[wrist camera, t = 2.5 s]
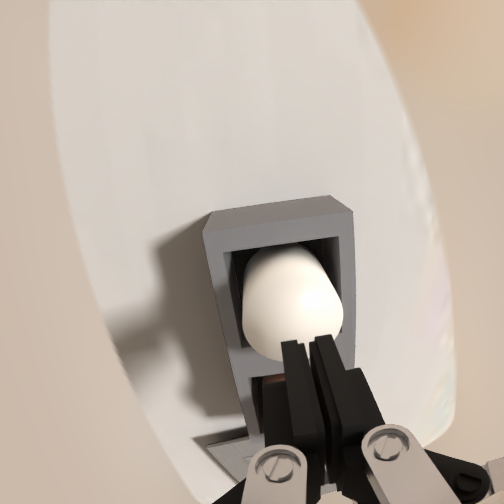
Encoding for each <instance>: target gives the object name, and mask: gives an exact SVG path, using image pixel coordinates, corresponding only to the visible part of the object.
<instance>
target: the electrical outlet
mask: <svg viewBox="0 0 504 504" xmlns="http://www.w3.org/2000/svg"><path fill="white" fill-rule="evenodd" d="M264 448H265V442H263V443H253V444H251V441H250V437H249V435H248V436H243V437H239V438H235V439H231V440H226V441H221V442H217V443H212V444H209V445H206V449H207V450H208V451H209V452H210V453H211V454H212V455H213V456H214V457H215V458H216V459H217V460H218V461H219V463H220V464H221V465H222V466H223V467H224V468H225V469H226V470H227V471H228V472H229V473H230V474H231V475H232V476H233V477H234V478H235V479H236V480H237V481H238V482H239V483H240V482H241V481H242V480H243V479H245V478H246V477H247V472H248V467H249V464H250V461H251V459H252V458H253V457H254V455H255V454H256V453H257V452H259V451H260V450H262V449H264ZM336 490H337V488H336V483H335V484H329V481H328V476H327V471H326V466H325V480H324V486H321V495H322V494H326V493H330V492H333V491H336Z"/></svg>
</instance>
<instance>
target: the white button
mask: <svg viewBox="0 0 504 504" xmlns="http://www.w3.org/2000/svg"><path fill="white" fill-rule="evenodd" d="M342 322H343V307H342V303H341V301H340V299H339V297H338V295H337V293H336V291H335V289H334V287H333V286H332V284H331V282H330V280H329V278H328V277H327V275H326V273H325V271H324V269H323V268H322V266H321V264H320V262H319V260H318V259H317V257H316V256H315V255H314V254H313V253H312V252H311V251H310V250H309V249H307V248H306V247H304V246H302V245H300V244H297V243H286V244H279V245H272V246H266V247H263V248H262V249H260V250H259V251H258V252H257V253H255V254H254V255H253V256H252V258H251V259H250V260H249V262H248V264H247V266H246V268H245V271H244V277H243V315H242V325H243V331H244V335H245V337H246V339H247V341H248V342H249V344H250V345H251V346H252V348H253V349H255V350H256V351H257V352H258V353H260V354H261V355H263V356H265V357H267V358H269V359H272V360H276V361H282V362H283V358H282V350H281V342H283V341H290V340H296V339H297V342H298V344H299V343H304V345H305V348H306V352H307V356H308V358H310V355H309V342H312V341H314V337H316V336H322V335H327V334H331V335H332V337H333V339H334V340H335V338H336V337H337V335H338V333H339V331H340V329H341V326H342Z"/></svg>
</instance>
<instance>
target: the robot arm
mask: <svg viewBox="0 0 504 504" xmlns="http://www.w3.org/2000/svg"><path fill="white" fill-rule="evenodd" d="M281 350H282V358H283V366H284V374H285V380H284V381H277V382H269V383H262V397H263V418H264V441H265V448H264V449H262V450H260V451H259V452H257V453H256V454H255V455H254V457H253V458H252V459H251V461H250V464H249V467H248V472H247V477H246V478H245V479H243V480H242V481H241V482H240V483H238V484H237V485H236V486H235V487H233V488H232V489H231V490H230V491H228V492H227V493H226V494H224V495H223V496H222V497H220V498H219V499H218V500H216V501H215V502H214V503H212V504H316V503H317V502H318V501H319V500H320V498H321V486H324V480H325V466H326V471H327V476H328V481H329V484H335V483H336V488H337V491H342V495H344V496H346V497H347V498H350V499H352V502H353V504H504V457H503V458H499V459H496V460H492V461H488V462H487V463H486V465H483V466H479V465H477V464H474V463H470V462H466V461H463V460H459V459H455V458H452V457H449V456H445V455H442V454H439V453H435V452H432V451H429V450H426V449H423V448H422V447H421V445H420V444H419V442H418V441H417V440H416V438H415V437H414V435H413V434H412V433H411V432H410V431H409V430H408V429H406V428H404V427H402V426H399V425H395V424H385V422H384V420H383V418H382V415H381V413H380V411H379V408H378V406H377V404H376V401H375V399H374V397H373V394H372V392H371V390H370V387H369V385H368V383H367V381H366V378H365V376H364V374H363V372H362V370H361V368H354V369H349V370H345V367H344V365H343V362H342V360H341V357H340V354H339V352H338V349H337V347H336V344H335V342H334V339H333V337H332V335H331V334H327V335H322V336H316V337H314V341H312V342H309V355H310V364H309V360H308V356H307V352H306V348H305V345H304V343H299V344H298V342H297V339H296V340H290V341H283V342H281Z"/></svg>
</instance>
